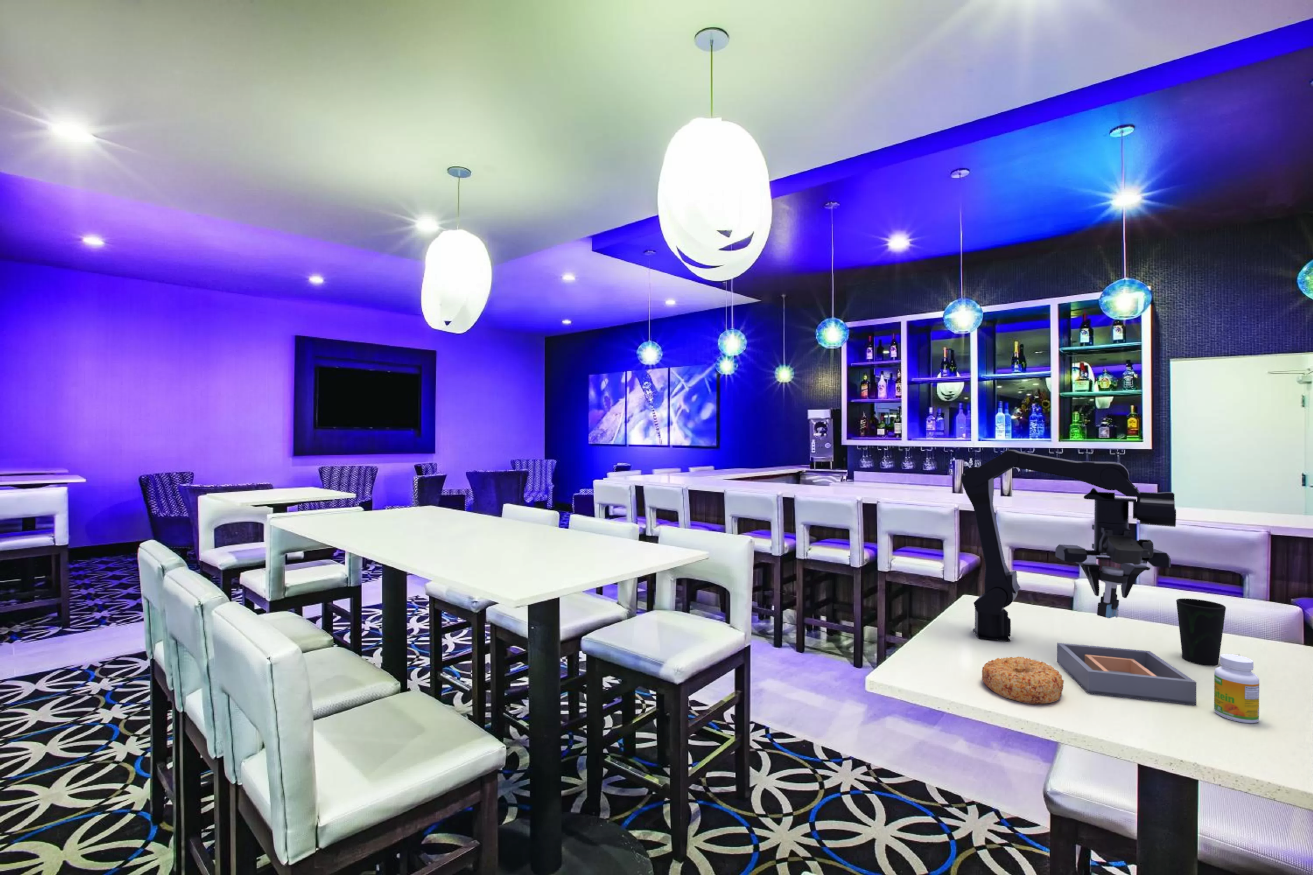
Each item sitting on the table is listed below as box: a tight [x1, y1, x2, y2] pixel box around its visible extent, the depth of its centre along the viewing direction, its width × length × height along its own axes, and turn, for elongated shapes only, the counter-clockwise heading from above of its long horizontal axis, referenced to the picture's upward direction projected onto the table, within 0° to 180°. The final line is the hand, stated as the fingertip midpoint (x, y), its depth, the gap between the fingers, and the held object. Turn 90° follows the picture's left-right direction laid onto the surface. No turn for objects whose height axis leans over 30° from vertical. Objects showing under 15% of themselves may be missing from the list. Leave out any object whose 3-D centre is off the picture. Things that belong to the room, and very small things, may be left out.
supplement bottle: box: [1213, 653, 1260, 724], centre depth 100 cm, size 5×5×10 cm
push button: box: [1096, 565, 1129, 619], centre depth 126 cm, size 7×5×10 cm
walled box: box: [1056, 642, 1197, 706], centre depth 114 cm, size 16×16×4 cm
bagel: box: [981, 656, 1065, 705], centre depth 110 cm, size 13×14×5 cm
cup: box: [1175, 597, 1227, 667], centre depth 125 cm, size 8×8×12 cm
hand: (1110, 596), depth 126 cm, fingers closed on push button, 5 cm apart
